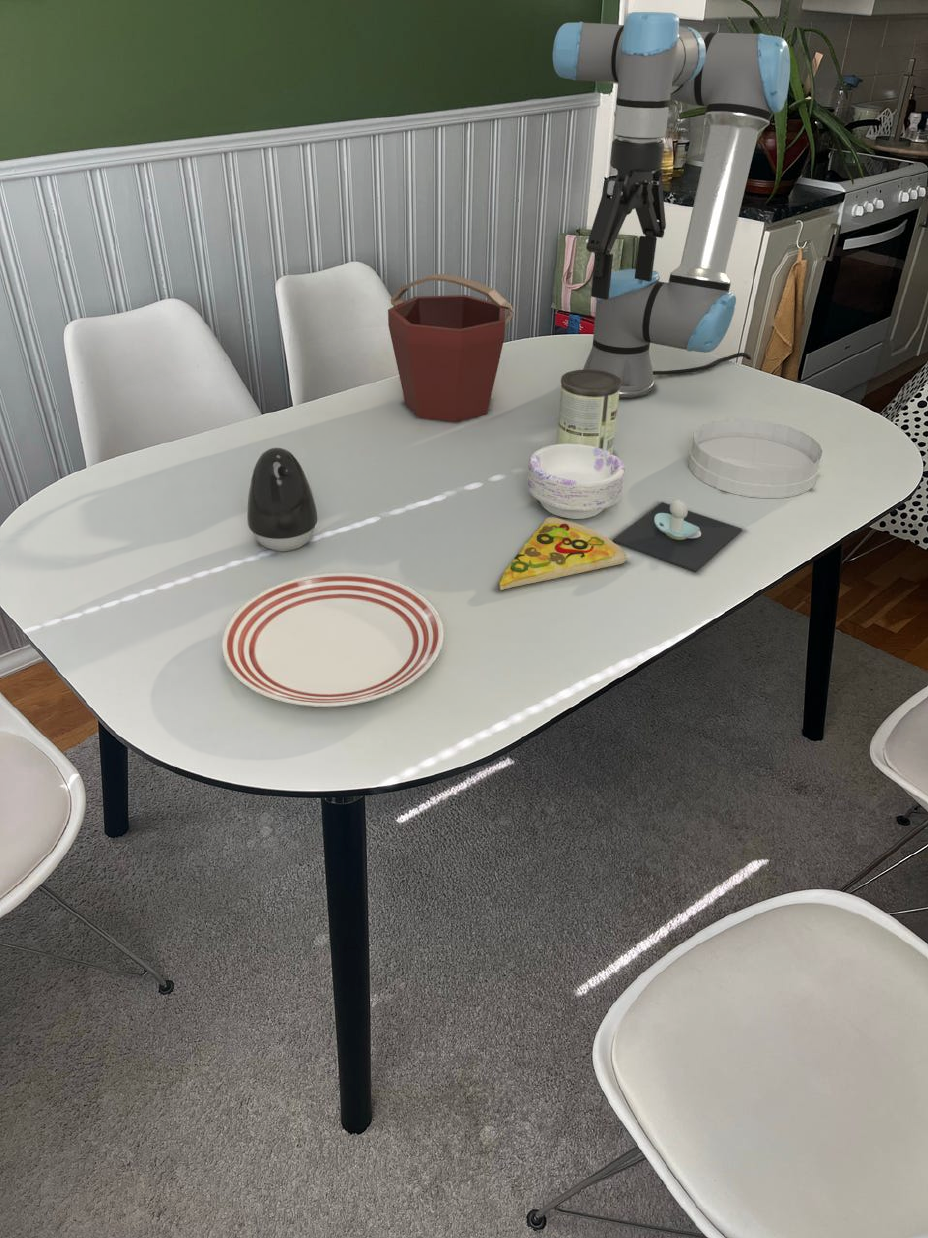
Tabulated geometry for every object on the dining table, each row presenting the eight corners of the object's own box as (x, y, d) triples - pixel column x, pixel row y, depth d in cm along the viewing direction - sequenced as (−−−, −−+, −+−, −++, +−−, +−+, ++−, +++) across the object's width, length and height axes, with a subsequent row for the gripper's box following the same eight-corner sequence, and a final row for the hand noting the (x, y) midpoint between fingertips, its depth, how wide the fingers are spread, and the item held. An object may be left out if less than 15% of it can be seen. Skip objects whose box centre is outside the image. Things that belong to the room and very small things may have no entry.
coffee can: (555, 441, 175) (561, 367, 167) (611, 444, 174) (620, 370, 166) (554, 465, 166) (560, 388, 158) (613, 468, 165) (622, 391, 157)
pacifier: (670, 519, 150) (647, 530, 146) (677, 483, 146) (653, 494, 143) (709, 537, 145) (686, 548, 142) (717, 500, 142) (693, 511, 139)
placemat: (661, 504, 155) (662, 502, 155) (741, 530, 148) (742, 528, 148) (612, 541, 144) (612, 539, 144) (695, 572, 137) (696, 570, 137)
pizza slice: (632, 559, 140) (635, 542, 138) (539, 613, 128) (541, 594, 126) (553, 522, 149) (555, 505, 147) (460, 569, 137) (460, 551, 135)
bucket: (530, 407, 188) (538, 278, 174) (457, 440, 174) (460, 303, 160) (438, 376, 201) (439, 254, 187) (364, 405, 187) (359, 275, 173)
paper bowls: (637, 506, 154) (644, 461, 150) (581, 538, 145) (586, 492, 140) (564, 476, 162) (568, 433, 158) (506, 505, 153) (509, 461, 149)
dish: (682, 487, 160) (687, 460, 157) (692, 437, 177) (696, 411, 175) (819, 506, 155) (826, 478, 152) (815, 452, 173) (821, 426, 170)
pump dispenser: (263, 566, 136) (251, 470, 128) (242, 534, 144) (230, 442, 135) (329, 551, 140) (322, 457, 132) (305, 520, 148) (298, 430, 139)
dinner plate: (450, 717, 110) (450, 695, 108) (210, 727, 107) (206, 704, 106) (437, 590, 132) (437, 569, 130) (238, 595, 130) (235, 575, 128)
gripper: (656, 127, 147) (639, 268, 159) (570, 144, 130) (558, 300, 142) (700, 132, 143) (679, 276, 155) (617, 151, 127) (601, 310, 139)
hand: (621, 288), depth 149 cm, fingers open, 13 cm apart
